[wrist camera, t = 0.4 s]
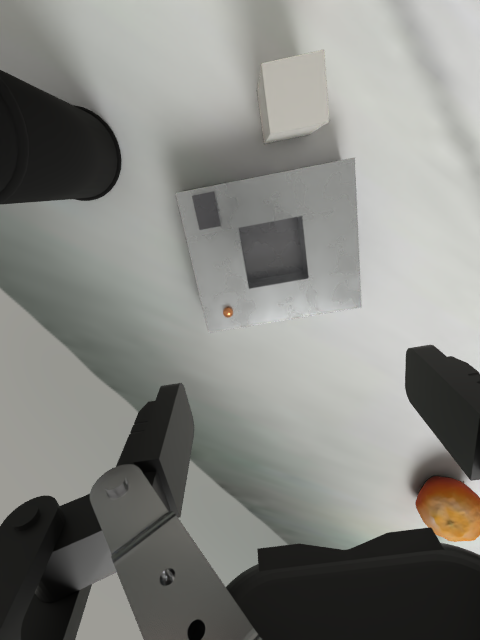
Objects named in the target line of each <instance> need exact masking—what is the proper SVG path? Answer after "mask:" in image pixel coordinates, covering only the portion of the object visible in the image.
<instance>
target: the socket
mask: <svg viewBox="0 0 480 640" xmlns="http://www.w3.org/2000/svg"><path fill="white" fill-rule="evenodd" d="M175 195H176V199H177V203H178V207H179V211H180V216H181V220H182V224H183V228H184V232H185V237H186V241H187V245H188V249H189V254H190V258H191V262H192V266H193V270H194V275H195V279H196V283H197V287H198V291H199V296H200V300H201V304H202V308H203V312H204V317H205V321H206V325H207V329H208V333H212V332H218V331H224V330H230V329H236V328H242V327H248V326H254V325H260V324H265V323H271V322H277V321H283V320H289V319H295V318H301V317H307V316H313V315H319V314H325V313H331V312H336V311H342V310H348V309H354V308H360V307H361V286H360V264H359V243H358V221H357V200H356V178H355V158H350V159H345V160H340V161H335V162H330V163H325V164H320V165H314V166H309V167H304V168H299V169H294V170H289V171H284V172H279V173H274V174H269V175H264V176H258V177H253V178H248V179H243V180H238V181H233V182H228V183H223V184H218V185H213V186H208V187H203V188H197V189H192V190H187V191H182V192H177V193H175Z"/></svg>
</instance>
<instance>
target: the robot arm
mask: <svg viewBox="0 0 480 640" xmlns="http://www.w3.org/2000/svg"><path fill="white" fill-rule="evenodd" d="M405 389H406V393H407V397H408V399H409V401H410V403H411V404H412V405H413V407H414V408H415V409H416V411H417V412H418V413H419V414H420V416H421V417H422V418H423V420H424V421H425V422H426V424H427V425H428V426H429V427H430V429H431V430H432V431H433V433H434V434H435V435H436V436H437V438H438V439H439V440H440V442H441V443H442V444H443V445H444V447H445V448H446V449H447V451H448V452H449V453H450V454H451V456H452V457H453V458H454V460H455V461H456V462H457V463H458V465H459V466H460V467H461V469H462V470H463V471H464V472H465V474H466V475H467V476H468V478H469V479H470V480H479V479H480V374H479V372H478V371H477V370H475V369H474V368H473V367H472V366H470V365H469V364H468V363H466V362H463V361H461V360H459V359H456V358H454V357H452V356H450V357H446V356H445V355H444V354H443V353H442V352H441V351H439V350H438V349H437V348H436V347H435V346H433V345H426V346H420V347H413V348H409V349H408V350H407V352H406V373H405ZM193 437H194V421H193V416H192V412H191V409H190V405H189V402H188V398H187V395H186V392H185V388H184V386H183V384H182V383H178V384H171V385H165V386H161V387H160V390H159V392H158V395H157V398H156V401H151V402H148V403H147V404H146V405H145V406H144V407H143V408H142V409H141V410H140V411H139V413H138V415H137V418H136V420H135V423H134V425H133V427H132V430H131V434H130V435H129V437H128V439H127V442H126V444H125V446H124V449H123V451H122V454H121V456H120V459H119V461H118V463H117V466H116V467H115V468H112V469H111V470H109V471H107V472H106V473H104V474H103V475H102V476H101V477H100V478H99V479H98V480H97V481H96V483H95V484H94V485H93V487H92V489H91V492H90V494H88V495H86V496H84V497H81V498H79V499H76V500H74V501H71V502H69V503H67V504H64V505H62V506H59V504H58V503H57V501H56V499H55V498H53V497H51V496H40V497H36V498H33V499H31V500H29V501H27V502H25V503H24V504H22V505H20V506H19V507H18V508H16V509H15V510H14V511H13V512H12V513H11V514H10V515H9V516H8V517H7V518H6V519H5V520H4V522H3V523H2V524H1V526H0V640H75V638H76V635H77V631H78V628H79V625H80V622H81V618H82V615H83V612H84V608H85V605H86V602H87V599H88V595H89V592H90V589H91V586H92V584H93V583H95V582H97V581H99V580H101V579H103V578H106V577H107V576H109V575H112V574H114V573H116V572H117V573H118V576H119V579H120V581H121V584H122V586H123V589H124V591H125V594H126V596H127V599H128V601H129V604H130V606H131V609H132V611H133V614H134V616H135V619H136V621H137V624H138V626H139V629H140V631H141V634H142V636H143V639H144V640H480V555H478V554H476V553H474V552H471V551H469V550H466V549H463V548H460V547H457V546H453V545H449V544H444V543H440V542H439V540H438V538H437V536H436V535H435V533H434V531H433V529H432V528H422V529H414V530H406V531H398V532H390V533H386V534H384V535H381V536H379V537H377V538H375V539H372V540H370V541H368V542H365V543H363V544H361V545H358V546H356V547H354V548H351V549H348V550H340V549H333V548H326V547H319V546H312V545H305V544H293V545H285V546H277V547H269V548H261V549H258V563H259V564H257V565H255V566H253V567H251V568H249V569H248V570H246V571H244V572H243V573H241V574H240V575H239V576H238V577H236V578H235V579H234V580H233V581H232V582H231V583H230V584H229V585H228V586H227V587H225V586H224V584H223V583H222V581H221V580H220V579H219V577H218V575H217V574H216V572H215V571H214V570H213V568H212V567H211V565H210V564H209V562H208V561H207V559H206V558H205V556H204V555H203V553H202V552H201V551H200V549H199V548H198V546H197V545H196V543H195V542H194V540H193V539H192V538H191V536H190V534H189V533H188V532H187V530H186V529H185V527H184V526H183V524H182V523H181V521H180V520H179V517H180V516H181V510H182V503H183V498H184V492H185V485H186V480H187V474H188V468H189V467H188V466H189V461H190V455H191V449H192V443H193Z"/></svg>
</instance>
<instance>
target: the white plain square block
mask: <svg viewBox="0 0 480 640" xmlns="http://www.w3.org/2000/svg"><path fill="white" fill-rule="evenodd" d="M257 96H258V103H259V110H260V118H261V125H262V132H263V140H264V144H266V143H271V142H276V141H281V140H286V139H291V138H296V137H301V136H306V135H310V134H311V133H313V132H314V131H316V130H317V129H318V128H320V127H321V126H323V125H324V124H327V123H328V122H329V109H328V95H327V80H326V66H325V52H324V50H320V51H315V52H311V53H306V54H301V55H297V56H292V57H288V58H283V59H278V60H274V61H269V62H265V63H261V72H260V77H259V82H258V87H257Z"/></svg>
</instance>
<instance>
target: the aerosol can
mask: <svg viewBox="0 0 480 640" xmlns="http://www.w3.org/2000/svg"><path fill="white" fill-rule="evenodd" d="M120 170H121V154H120V149H119V145H118V142H117V140H116V138H115V136H114V134H113V132H112V130H111V129H110V128H109V126H108V125H107V124H106V123H105V122H104V121H103V120H102V119H101V118H100V117H99V116H98V115H96V114H95V113H93V112H92V111H90V110H88V109H85V108H83V107H79V106H73V105H71V104H69V103H67V102H65V101H63V100H60V99H58V98H56V97H54V96H52V95H50V94H48V93H46V92H44V91H42V90H40V89H38V88H36V87H34V86H32V85H30V84H28V83H26V82H24V81H22V80H20V79H18V78H16V77H14V76H12V75H10V74H8V73H5V72H3V71H1V70H0V204H12V203H25V202H38V201H51V200H65V199H76V200H81V201H90V200H94V199H98V198H100V197H102V196H104V195H105V194H107V193H108V192H109V191H110V190H111V189H112V188H113V186H114V185H115V184H116V181H117V179H118V177H119V174H120Z"/></svg>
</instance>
